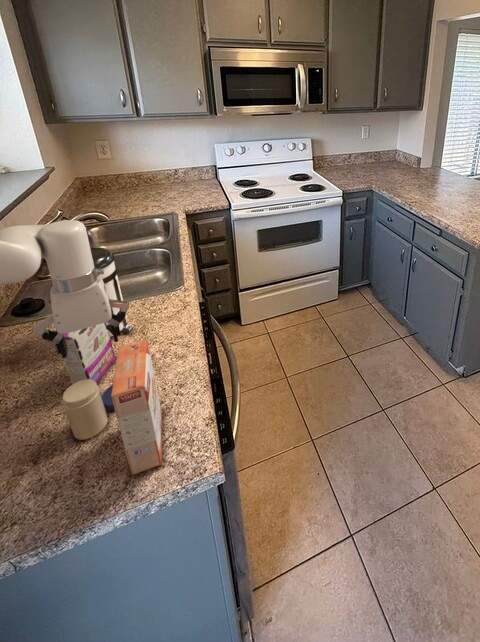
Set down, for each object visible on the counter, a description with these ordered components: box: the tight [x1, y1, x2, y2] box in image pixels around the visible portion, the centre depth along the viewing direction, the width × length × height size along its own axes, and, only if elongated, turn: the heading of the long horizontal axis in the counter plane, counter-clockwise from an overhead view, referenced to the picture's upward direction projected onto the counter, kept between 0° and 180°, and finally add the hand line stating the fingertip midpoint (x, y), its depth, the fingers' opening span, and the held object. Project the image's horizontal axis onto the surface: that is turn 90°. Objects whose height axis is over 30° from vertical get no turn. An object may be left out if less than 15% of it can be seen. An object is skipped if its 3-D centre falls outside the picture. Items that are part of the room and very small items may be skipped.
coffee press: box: [90, 246, 133, 338], centre depth 104 cm, size 17×16×30 cm
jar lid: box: [101, 384, 115, 412], centre depth 87 cm, size 7×7×2 cm
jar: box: [62, 379, 109, 441], centre depth 78 cm, size 7×7×11 cm
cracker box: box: [111, 339, 163, 476], centre depth 73 cm, size 14×6×21 cm, turn 23°
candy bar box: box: [60, 323, 117, 385], centre depth 91 cm, size 11×5×16 cm, turn 0°
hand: (91, 346), depth 80 cm, fingers open, 9 cm apart
